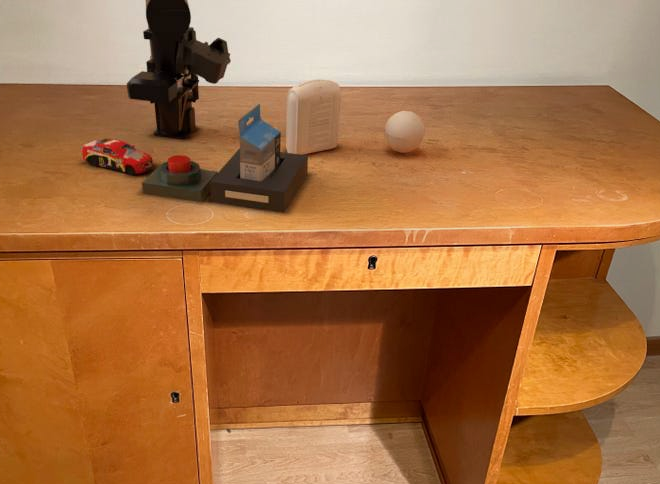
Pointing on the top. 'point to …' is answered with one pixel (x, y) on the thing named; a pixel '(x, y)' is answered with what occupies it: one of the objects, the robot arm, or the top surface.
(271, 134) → the tape cartridge
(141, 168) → the race car
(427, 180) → the top surface
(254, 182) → the dark grey rectangular frame
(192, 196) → the button box
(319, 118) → the cream rounded slab
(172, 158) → the button
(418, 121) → the seamed sphere
